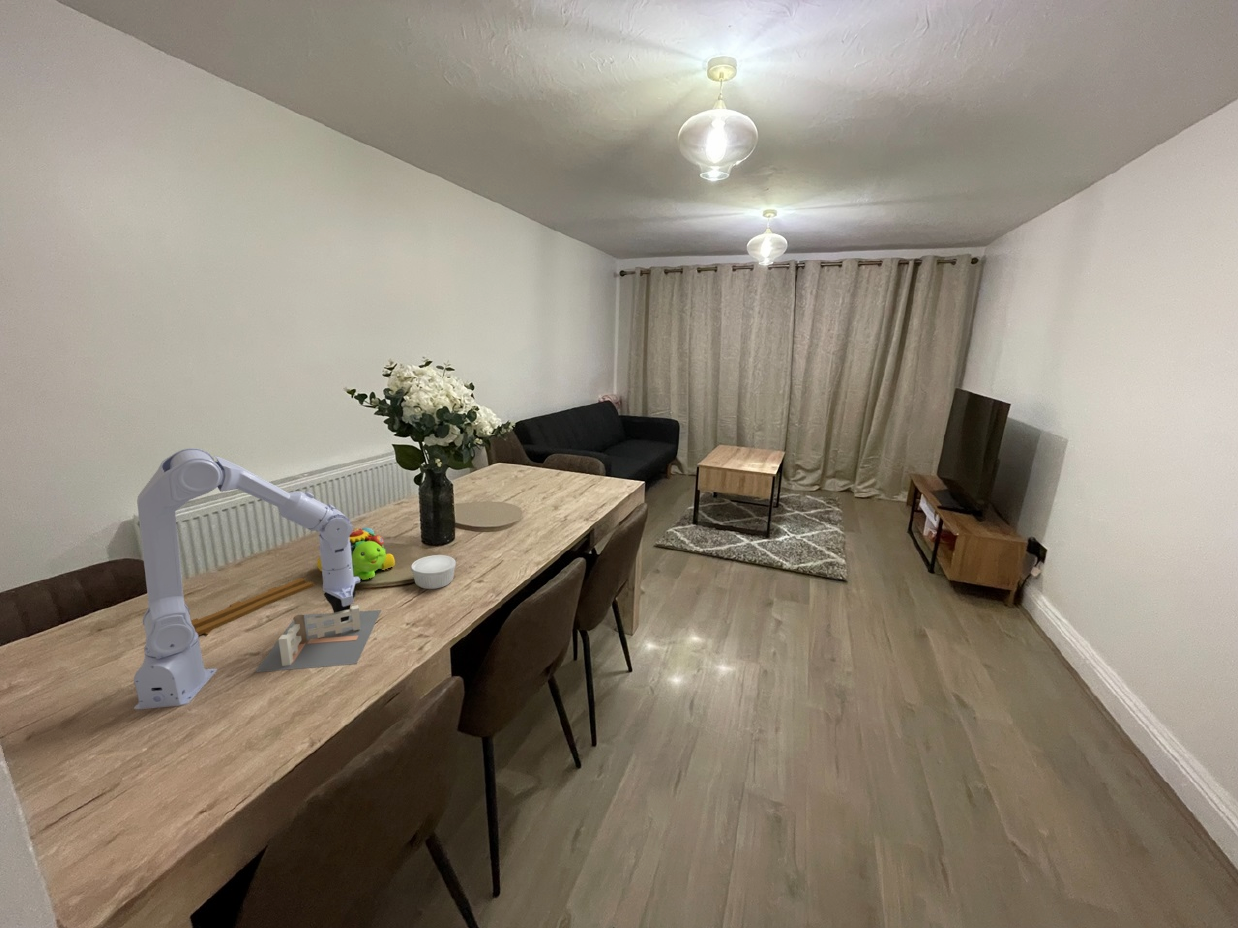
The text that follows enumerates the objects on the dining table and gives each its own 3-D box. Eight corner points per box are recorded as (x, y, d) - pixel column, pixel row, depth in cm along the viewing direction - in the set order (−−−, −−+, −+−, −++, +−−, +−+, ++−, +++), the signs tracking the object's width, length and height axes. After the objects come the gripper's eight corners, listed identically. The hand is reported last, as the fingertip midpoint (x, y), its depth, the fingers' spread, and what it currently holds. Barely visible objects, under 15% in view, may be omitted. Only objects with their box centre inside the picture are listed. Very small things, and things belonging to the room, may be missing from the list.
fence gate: (309, 640, 104) (306, 618, 102) (309, 637, 105) (306, 615, 104) (360, 628, 109) (358, 607, 107) (360, 625, 110) (358, 604, 108)
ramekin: (413, 573, 136) (412, 556, 134) (456, 569, 139) (455, 552, 138) (410, 593, 125) (409, 575, 124) (456, 589, 129) (455, 570, 128)
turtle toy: (341, 600, 121) (337, 556, 118) (313, 567, 136) (308, 527, 134) (410, 579, 133) (407, 538, 130) (376, 550, 148) (373, 514, 145)
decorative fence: (179, 629, 107) (204, 644, 103) (177, 621, 107) (202, 635, 103) (296, 582, 129) (320, 592, 125) (295, 575, 129) (319, 585, 125)
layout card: (356, 665, 98) (356, 663, 98) (254, 674, 94) (254, 671, 94) (381, 611, 117) (381, 609, 117) (297, 616, 113) (296, 614, 113)
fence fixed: (291, 665, 97) (287, 638, 95) (281, 665, 96) (277, 639, 95) (308, 639, 105) (305, 614, 103) (299, 639, 104) (295, 614, 103)
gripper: (366, 572, 102) (371, 629, 106) (348, 548, 113) (354, 600, 116) (328, 581, 98) (335, 641, 101) (313, 555, 108) (319, 610, 112)
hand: (342, 620), depth 108 cm, fingers closed
